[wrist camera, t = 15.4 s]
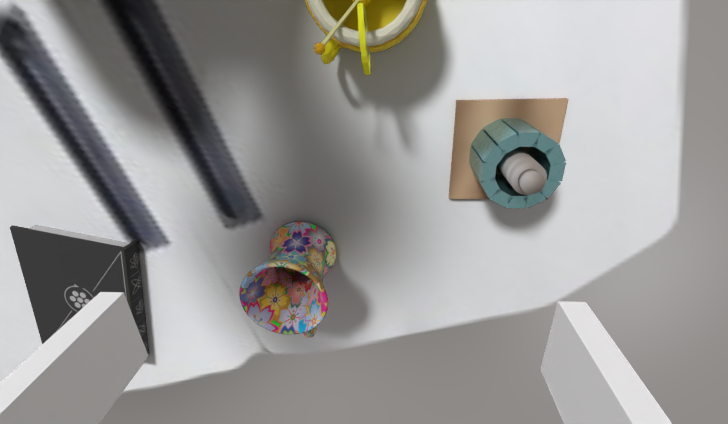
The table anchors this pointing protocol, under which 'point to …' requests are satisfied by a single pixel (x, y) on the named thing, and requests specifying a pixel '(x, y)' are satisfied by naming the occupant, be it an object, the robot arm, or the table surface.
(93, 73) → the table surface
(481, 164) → the teal slatted pot
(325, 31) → the mug
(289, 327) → the mug
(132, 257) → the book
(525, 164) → the peg on square base
